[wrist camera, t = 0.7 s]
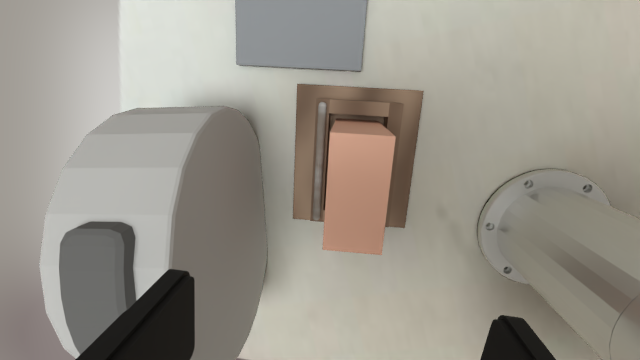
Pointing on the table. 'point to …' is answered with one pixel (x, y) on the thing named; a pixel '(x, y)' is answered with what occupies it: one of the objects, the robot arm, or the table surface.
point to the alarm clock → (158, 224)
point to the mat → (300, 33)
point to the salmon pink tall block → (357, 186)
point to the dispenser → (314, 134)
